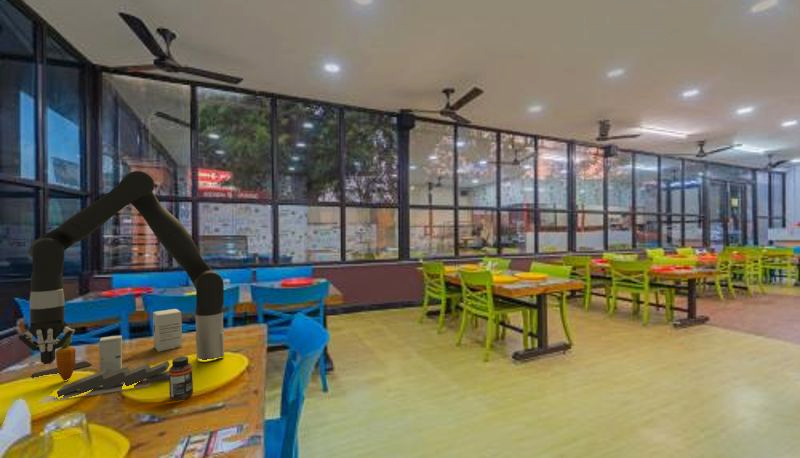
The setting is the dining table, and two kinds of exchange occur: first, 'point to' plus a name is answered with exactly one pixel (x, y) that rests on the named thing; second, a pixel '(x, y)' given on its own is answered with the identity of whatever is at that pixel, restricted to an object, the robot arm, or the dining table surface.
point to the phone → (55, 371)
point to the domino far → (83, 382)
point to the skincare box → (111, 353)
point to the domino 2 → (129, 376)
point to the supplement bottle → (180, 379)
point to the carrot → (65, 359)
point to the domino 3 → (149, 373)
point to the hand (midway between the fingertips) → (48, 363)
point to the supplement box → (167, 329)
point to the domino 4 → (158, 377)
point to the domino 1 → (107, 379)
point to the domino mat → (95, 391)
